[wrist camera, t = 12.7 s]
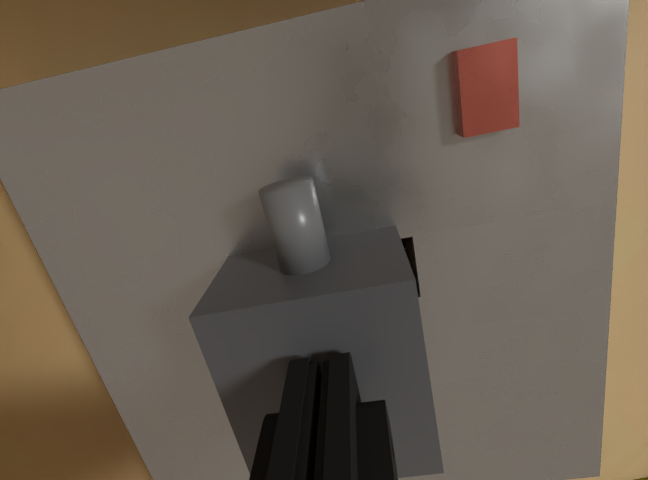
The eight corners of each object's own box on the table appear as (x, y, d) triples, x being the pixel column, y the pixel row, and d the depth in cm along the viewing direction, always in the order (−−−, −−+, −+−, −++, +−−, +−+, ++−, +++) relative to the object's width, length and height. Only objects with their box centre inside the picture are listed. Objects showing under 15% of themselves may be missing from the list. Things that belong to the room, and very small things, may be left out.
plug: (227, 172, 16) (154, 230, 10) (377, 140, 15) (400, 182, 9) (284, 361, 19) (257, 493, 13) (410, 342, 18) (443, 473, 12)
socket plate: (29, 95, 15) (-58, 99, 12) (571, -34, 13) (649, -74, 10) (193, 464, 23) (167, 530, 19) (564, 421, 20) (608, 489, 17)
